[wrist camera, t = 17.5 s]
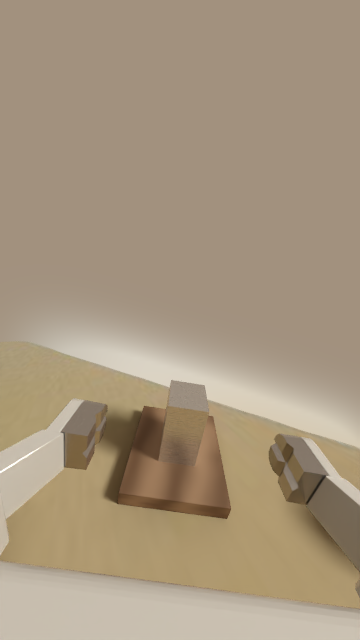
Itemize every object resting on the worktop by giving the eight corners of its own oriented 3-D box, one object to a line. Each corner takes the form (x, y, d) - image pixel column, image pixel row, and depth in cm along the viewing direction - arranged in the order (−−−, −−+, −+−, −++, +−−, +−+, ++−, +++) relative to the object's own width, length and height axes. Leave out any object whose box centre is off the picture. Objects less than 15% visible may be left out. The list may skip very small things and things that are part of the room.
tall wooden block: (158, 461, 25) (168, 405, 22) (162, 428, 31) (171, 380, 28) (194, 466, 25) (209, 412, 23) (192, 433, 31) (204, 385, 28)
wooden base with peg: (117, 503, 22) (121, 463, 20) (142, 413, 35) (146, 384, 33) (227, 518, 22) (241, 481, 20) (210, 424, 36) (218, 396, 34)
